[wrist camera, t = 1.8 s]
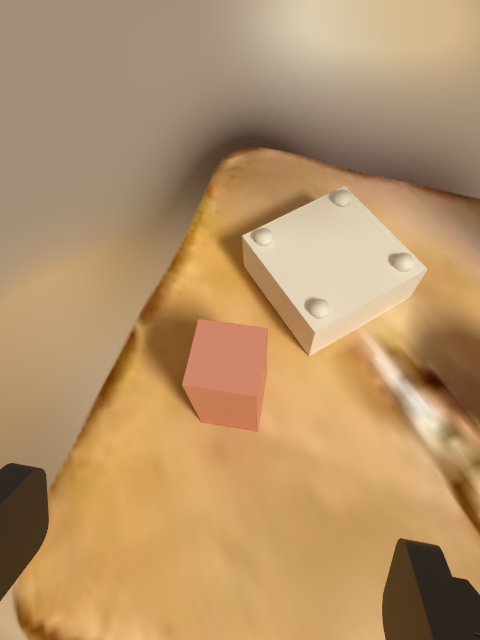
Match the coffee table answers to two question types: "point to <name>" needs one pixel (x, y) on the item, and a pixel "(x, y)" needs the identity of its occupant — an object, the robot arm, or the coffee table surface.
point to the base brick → (330, 268)
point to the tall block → (227, 373)
